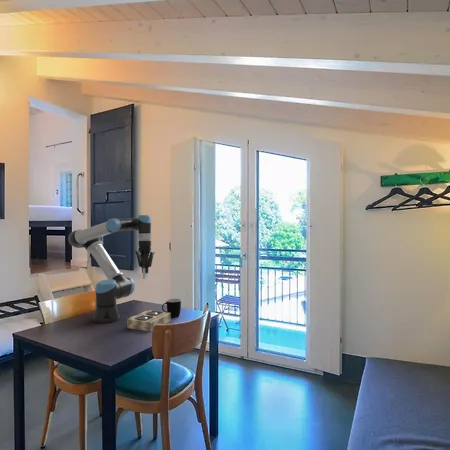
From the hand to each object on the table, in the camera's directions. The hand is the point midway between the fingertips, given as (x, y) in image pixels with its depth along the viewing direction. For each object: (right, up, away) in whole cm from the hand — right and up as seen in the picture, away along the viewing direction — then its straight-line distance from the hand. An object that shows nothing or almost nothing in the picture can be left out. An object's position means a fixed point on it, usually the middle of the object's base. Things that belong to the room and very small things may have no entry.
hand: (145, 278), depth 216 cm
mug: (+16, -25, +4) cm, 29 cm away
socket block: (+5, -25, -12) cm, 28 cm away
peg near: (+3, -25, -17) cm, 30 cm away
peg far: (+7, -24, -8) cm, 26 cm away
